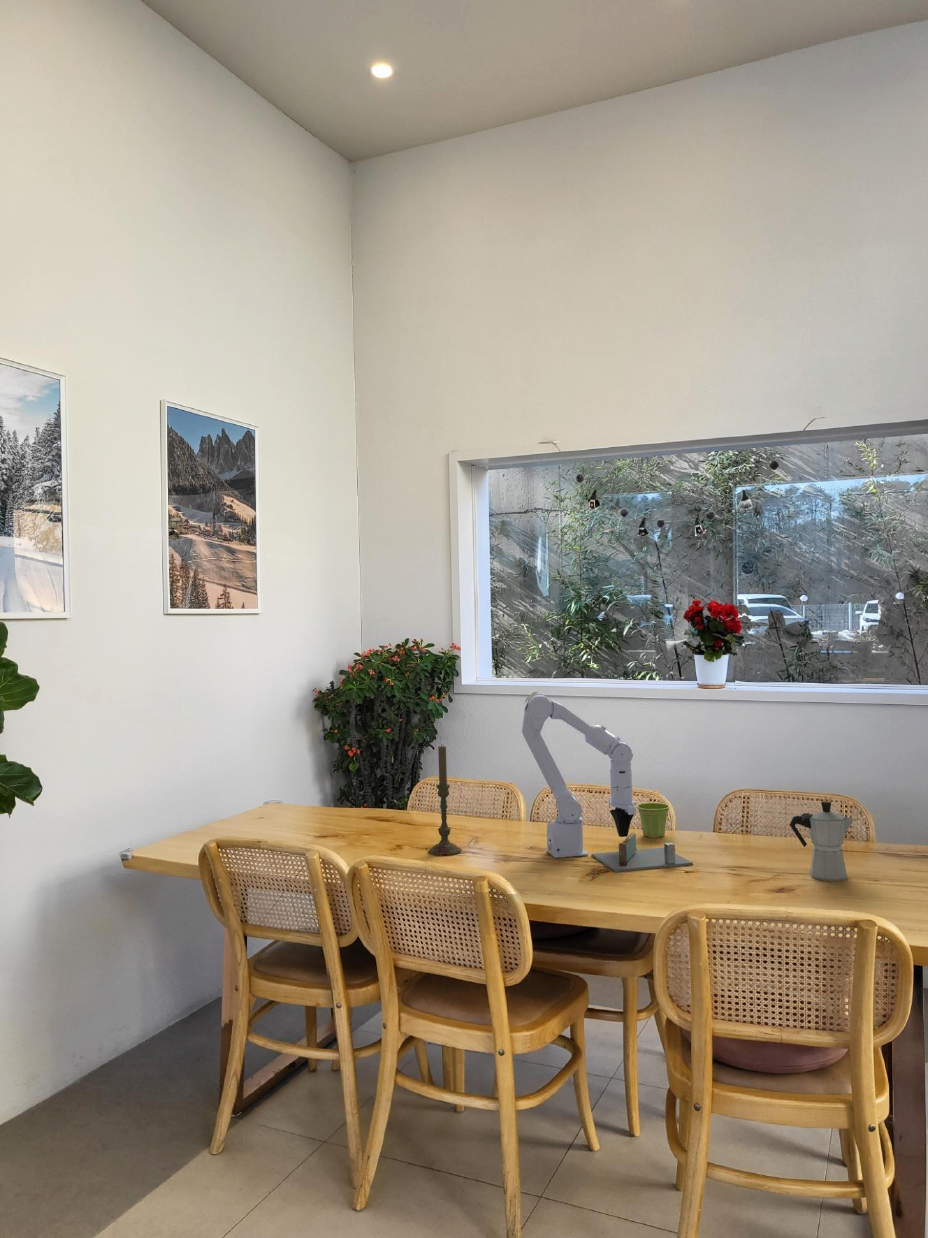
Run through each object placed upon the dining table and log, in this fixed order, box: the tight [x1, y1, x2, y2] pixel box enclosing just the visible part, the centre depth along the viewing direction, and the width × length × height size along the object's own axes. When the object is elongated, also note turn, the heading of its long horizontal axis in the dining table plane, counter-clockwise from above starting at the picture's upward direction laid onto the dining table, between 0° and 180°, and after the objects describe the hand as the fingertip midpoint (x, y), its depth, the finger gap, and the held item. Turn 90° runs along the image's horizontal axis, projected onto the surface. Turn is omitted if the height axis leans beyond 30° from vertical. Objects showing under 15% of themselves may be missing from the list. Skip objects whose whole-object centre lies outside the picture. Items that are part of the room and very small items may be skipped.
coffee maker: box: [789, 800, 856, 882], centre depth 225 cm, size 15×9×18 cm, turn 77°
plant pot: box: [636, 802, 670, 839], centre depth 272 cm, size 9×9×9 cm
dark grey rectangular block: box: [663, 842, 676, 864], centre depth 239 cm, size 2×2×6 cm
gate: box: [621, 832, 637, 861], centre depth 245 cm, size 12×1×5 cm, turn 158°
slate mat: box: [591, 847, 694, 873], centre depth 244 cm, size 21×17×1 cm
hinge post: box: [618, 842, 627, 866], centre depth 238 cm, size 2×2×6 cm
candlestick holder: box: [428, 743, 462, 857], centre depth 259 cm, size 9×9×30 cm
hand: (623, 836), depth 254 cm, fingers closed
